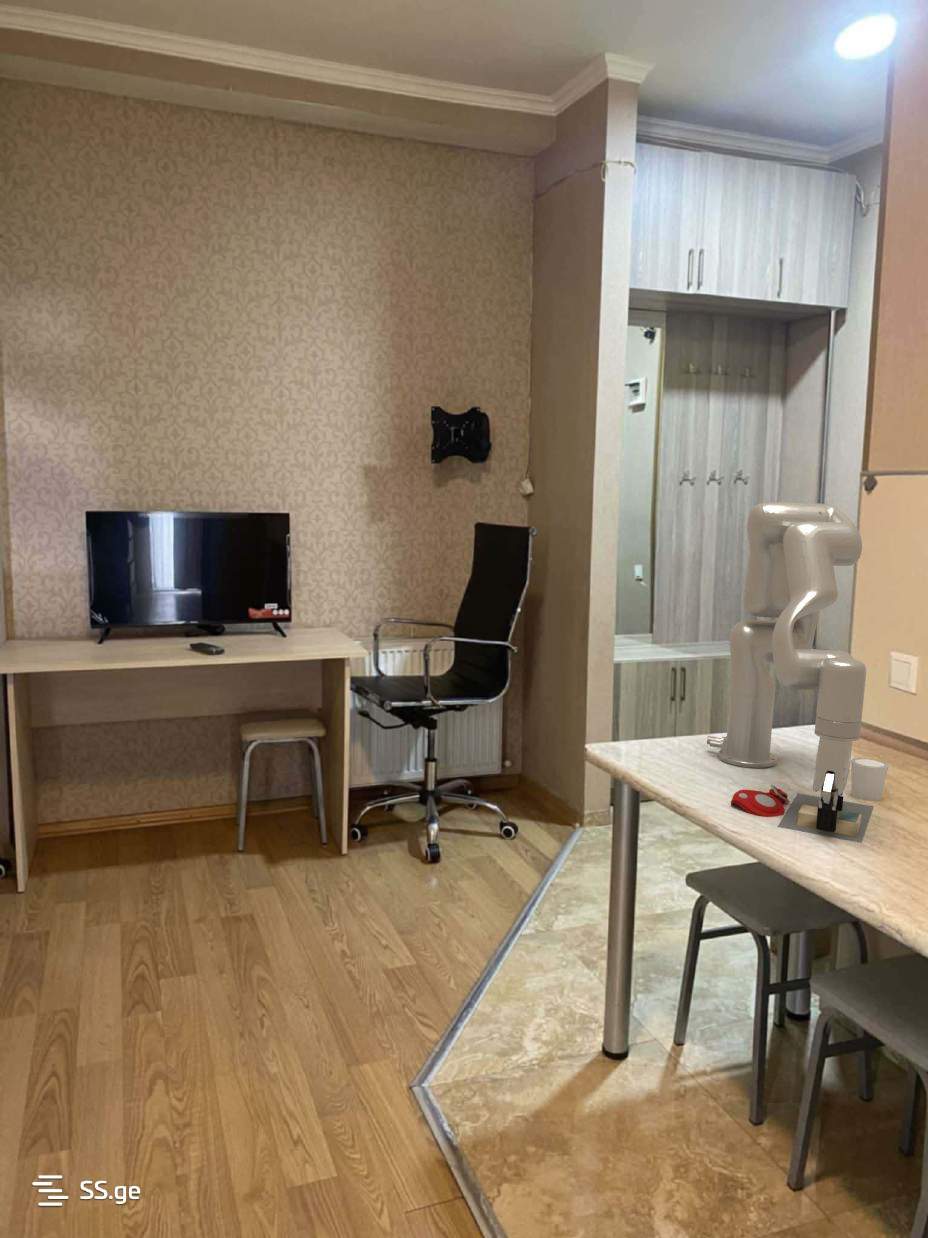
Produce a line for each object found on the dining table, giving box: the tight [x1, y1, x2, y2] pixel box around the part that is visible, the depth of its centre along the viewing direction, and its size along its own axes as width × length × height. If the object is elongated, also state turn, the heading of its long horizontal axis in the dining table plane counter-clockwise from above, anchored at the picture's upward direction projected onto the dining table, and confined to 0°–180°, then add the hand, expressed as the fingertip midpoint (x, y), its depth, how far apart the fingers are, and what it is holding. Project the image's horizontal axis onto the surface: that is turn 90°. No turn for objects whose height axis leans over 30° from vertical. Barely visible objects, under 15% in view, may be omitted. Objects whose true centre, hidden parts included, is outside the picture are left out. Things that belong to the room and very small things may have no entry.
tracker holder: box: [730, 784, 790, 818], centre depth 182 cm, size 12×4×10 cm
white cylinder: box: [850, 757, 889, 802], centre depth 191 cm, size 7×7×7 cm
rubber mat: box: [777, 793, 874, 844], centre depth 177 cm, size 14×22×1 cm, turn 152°
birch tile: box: [797, 805, 861, 837], centre depth 171 cm, size 10×5×3 cm, turn 62°
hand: (829, 822), depth 172 cm, fingers open, 7 cm apart
